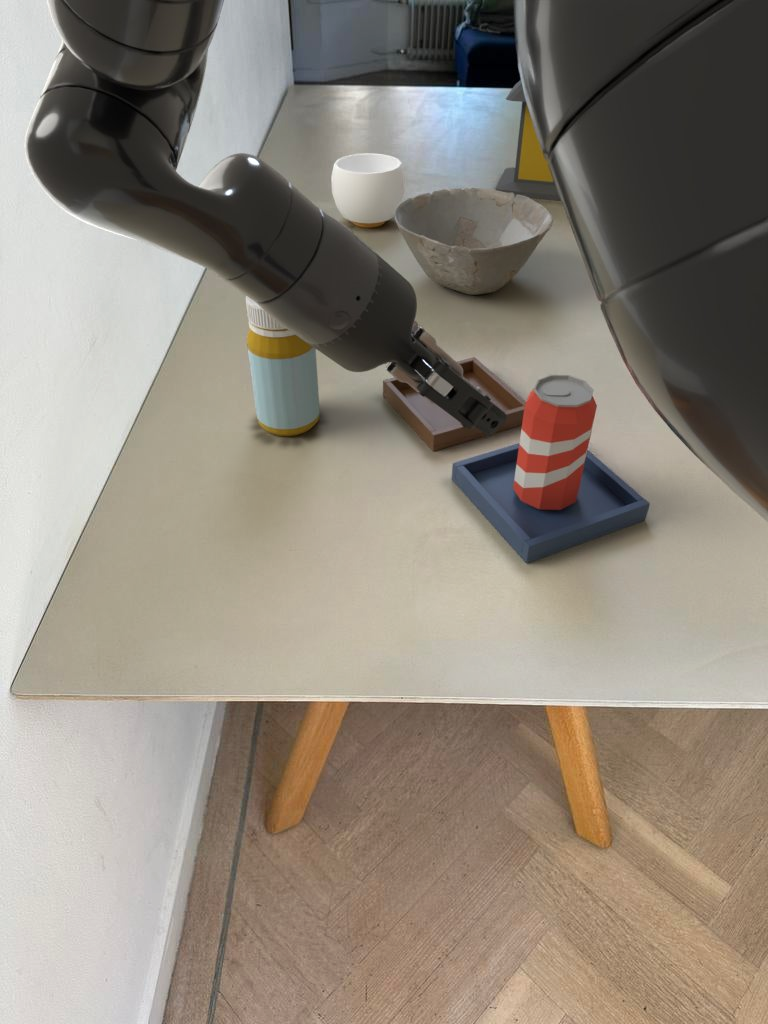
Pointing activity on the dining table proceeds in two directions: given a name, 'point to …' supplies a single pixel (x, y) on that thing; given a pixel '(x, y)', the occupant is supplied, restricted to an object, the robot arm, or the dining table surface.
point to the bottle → (281, 375)
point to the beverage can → (554, 441)
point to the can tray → (540, 530)
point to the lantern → (527, 160)
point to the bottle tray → (439, 424)
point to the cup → (368, 188)
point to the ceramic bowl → (472, 236)
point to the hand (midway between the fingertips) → (469, 398)
